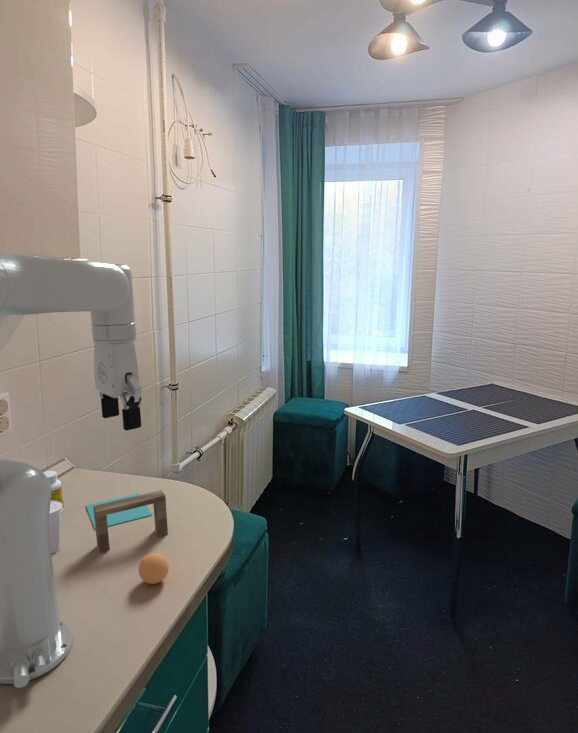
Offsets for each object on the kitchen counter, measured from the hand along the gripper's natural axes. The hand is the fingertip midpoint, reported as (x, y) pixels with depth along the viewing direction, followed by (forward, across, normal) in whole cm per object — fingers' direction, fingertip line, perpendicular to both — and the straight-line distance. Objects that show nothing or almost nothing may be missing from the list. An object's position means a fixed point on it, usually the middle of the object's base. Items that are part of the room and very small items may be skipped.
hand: (121, 422), depth 98 cm
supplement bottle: (+30, -34, -5) cm, 45 cm away
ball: (+27, +8, +1) cm, 28 cm away
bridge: (+30, -8, +4) cm, 31 cm away
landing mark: (+30, -23, +7) cm, 38 cm away
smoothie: (+30, -16, -11) cm, 36 cm away
